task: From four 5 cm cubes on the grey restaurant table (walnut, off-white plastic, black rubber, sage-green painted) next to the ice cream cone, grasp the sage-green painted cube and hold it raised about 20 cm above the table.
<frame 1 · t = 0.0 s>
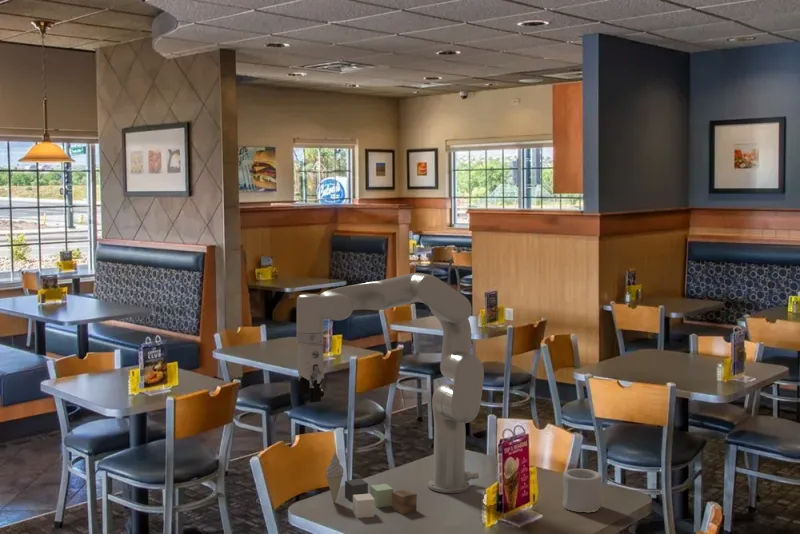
hand: (309, 398, 251), 31 cm above the table, fingers open, 9 cm apart
offwhite block: (363, 514, 248), on the table
ice cream cone: (334, 503, 257), on the table
mug: (578, 506, 257), on the table
black block: (356, 498, 261), on the table
sage block: (381, 504, 256), on the table
walnut block: (404, 510, 252), on the table
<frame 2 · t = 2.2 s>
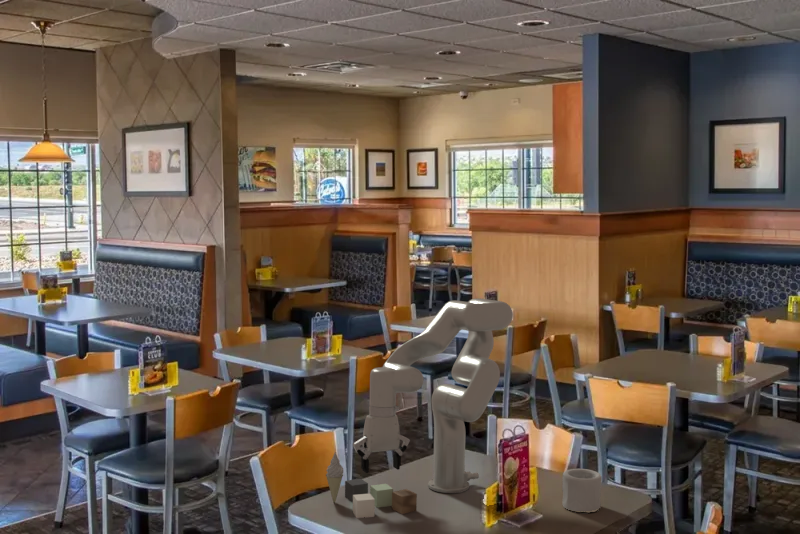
hand: (381, 469, 256), 10 cm above the table, fingers open, 9 cm apart
nothing on the table moved.
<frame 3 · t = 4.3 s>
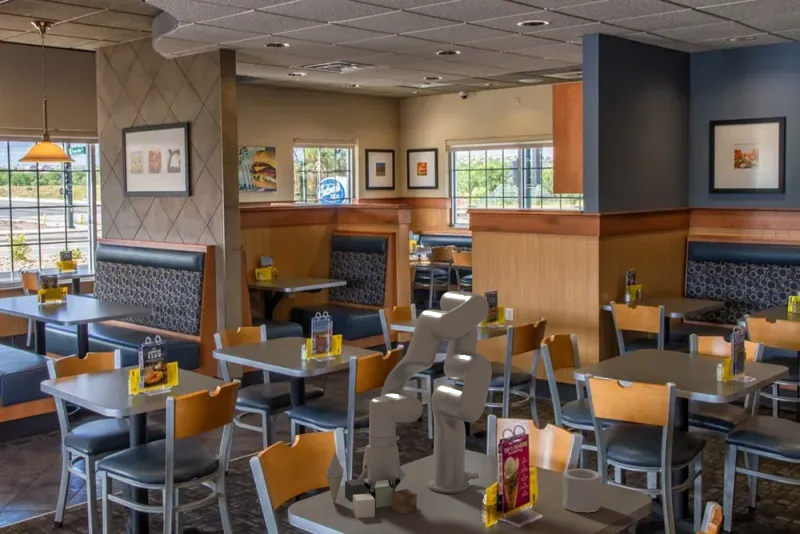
hand: (381, 502, 256), 0 cm above the table, fingers closed on sage block, 5 cm apart
sage block: (381, 503, 256), on the table, touching gripper
everything else where it was.
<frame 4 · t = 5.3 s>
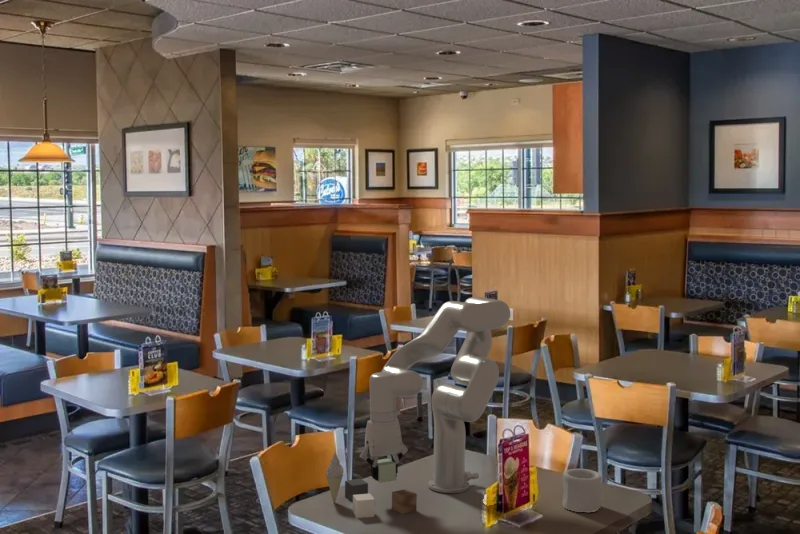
hand: (384, 477, 256), 8 cm above the table, fingers closed on sage block, 5 cm apart
sage block: (384, 478, 257), point 7 cm above the table, touching gripper
everything else where it was.
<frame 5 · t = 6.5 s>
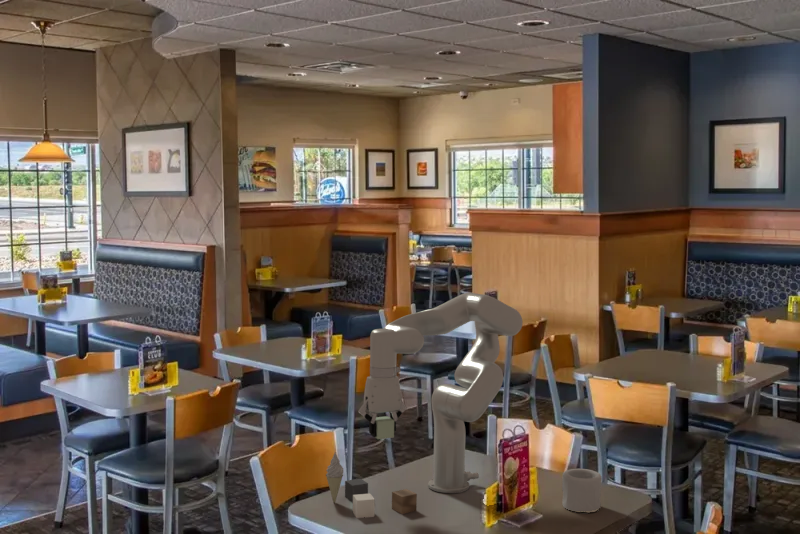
hand: (382, 434, 255), 20 cm above the table, fingers closed on sage block, 5 cm apart
sage block: (382, 436, 255), point 20 cm above the table, touching gripper
everything else where it was.
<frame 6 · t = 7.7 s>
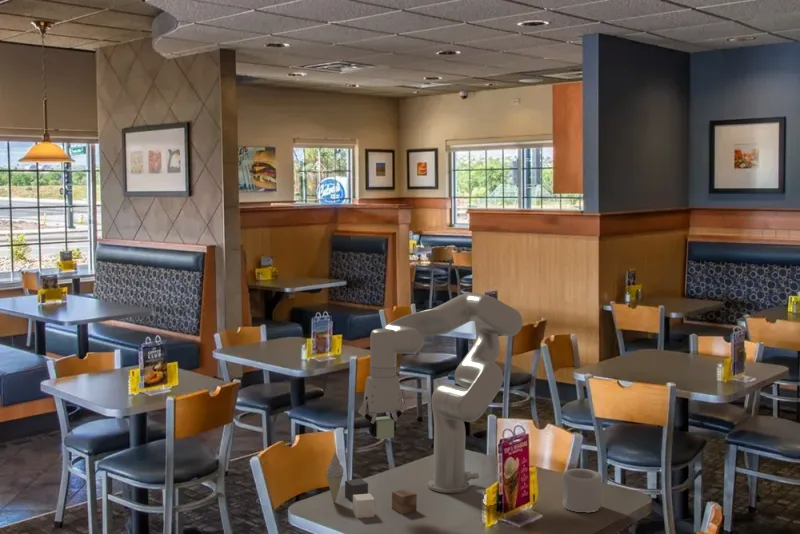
hand: (382, 434, 255), 20 cm above the table, fingers closed on sage block, 5 cm apart
sage block: (382, 436, 255), point 20 cm above the table, touching gripper
everything else where it was.
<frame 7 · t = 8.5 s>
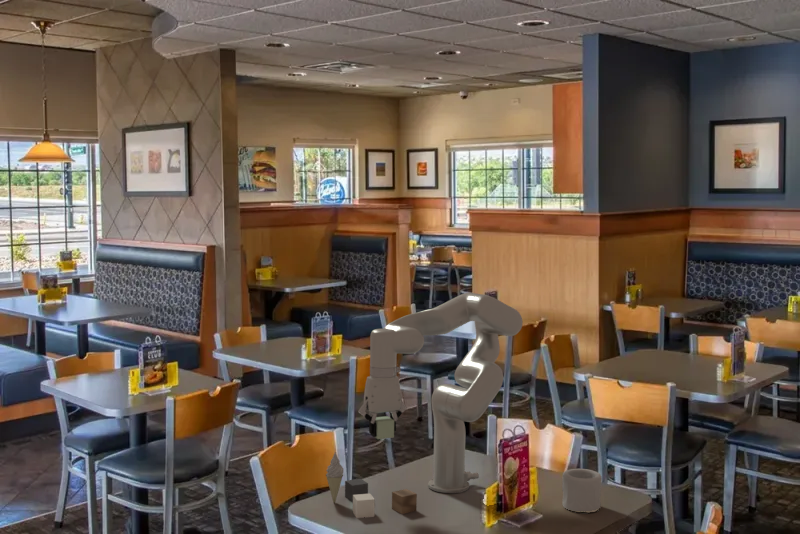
hand: (382, 434, 255), 20 cm above the table, fingers closed on sage block, 5 cm apart
sage block: (382, 436, 255), point 20 cm above the table, touching gripper
everything else where it was.
at the end: the gripper is holding sage block; sage block point 19.8 cm above the table; black block moved 0.1 cm from its start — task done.
